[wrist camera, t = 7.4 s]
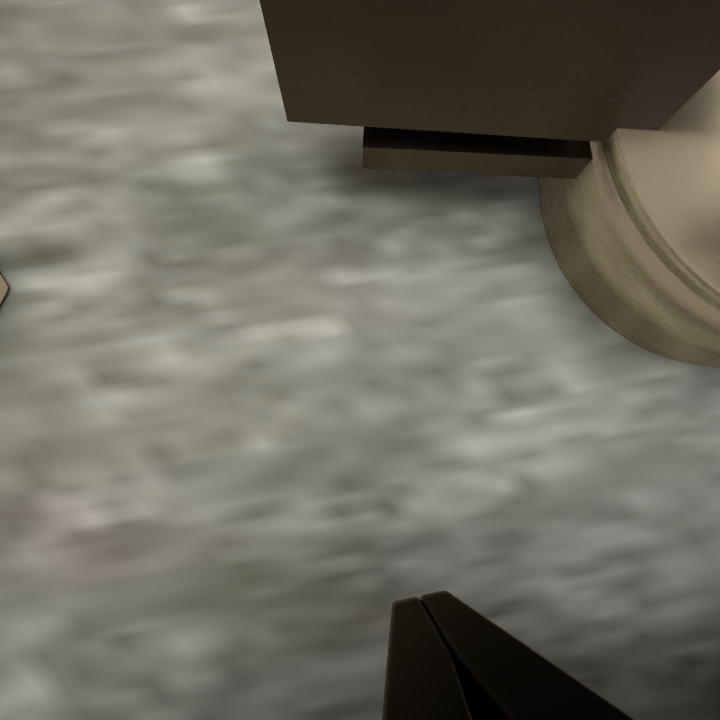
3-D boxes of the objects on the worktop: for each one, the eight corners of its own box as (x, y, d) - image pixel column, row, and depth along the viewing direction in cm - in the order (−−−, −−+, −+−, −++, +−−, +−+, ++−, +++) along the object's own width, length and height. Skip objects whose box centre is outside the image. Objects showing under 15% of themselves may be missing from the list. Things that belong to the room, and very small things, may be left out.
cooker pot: (886, 34, 24) (1061, -95, 18) (898, 376, 23) (1090, 359, 17) (372, 8, 24) (377, -129, 18) (354, 348, 23) (352, 321, 17)
